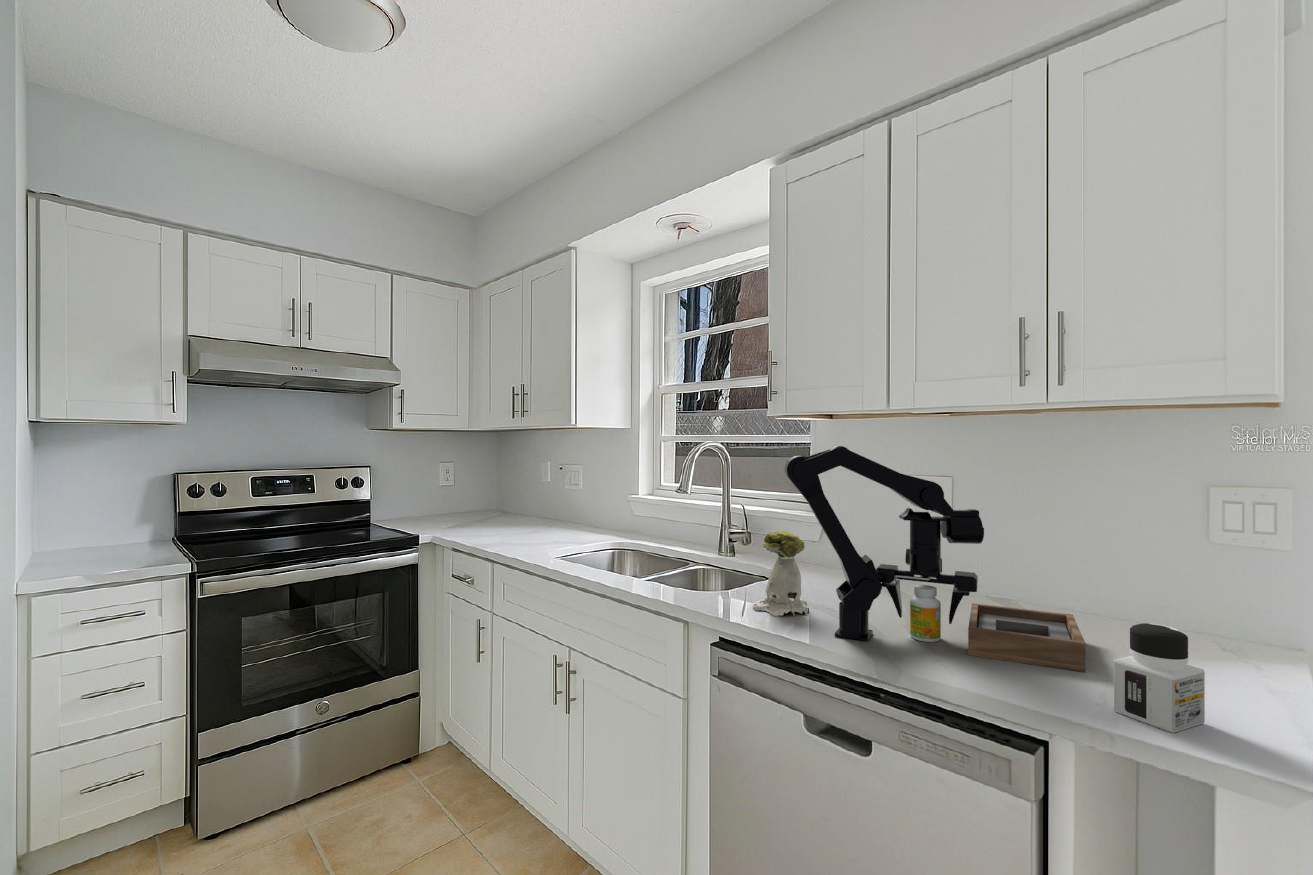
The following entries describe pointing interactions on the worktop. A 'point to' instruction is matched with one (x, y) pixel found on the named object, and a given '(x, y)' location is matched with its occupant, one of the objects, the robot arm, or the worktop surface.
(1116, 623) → the worktop surface
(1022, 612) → the tray
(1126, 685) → the container
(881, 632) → the worktop surface
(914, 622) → the supplement bottle
